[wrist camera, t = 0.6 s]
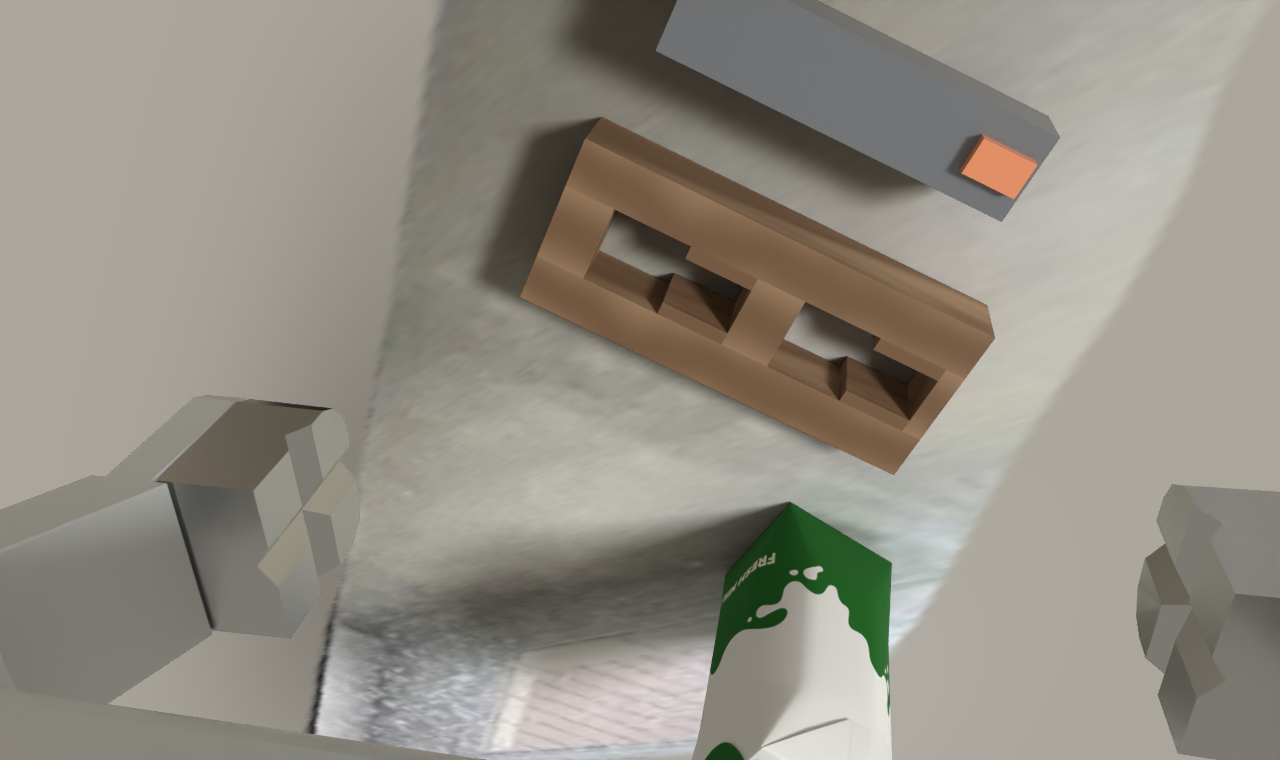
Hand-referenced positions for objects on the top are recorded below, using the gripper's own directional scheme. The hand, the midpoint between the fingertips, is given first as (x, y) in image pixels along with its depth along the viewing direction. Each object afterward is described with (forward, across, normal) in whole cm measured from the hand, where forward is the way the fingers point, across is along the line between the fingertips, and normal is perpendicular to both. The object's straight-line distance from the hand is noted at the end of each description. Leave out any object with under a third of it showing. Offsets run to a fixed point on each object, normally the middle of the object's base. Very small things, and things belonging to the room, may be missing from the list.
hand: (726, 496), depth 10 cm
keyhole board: (+39, +2, +16) cm, 42 cm away
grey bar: (+39, -2, +4) cm, 39 cm away
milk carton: (+40, -1, +34) cm, 52 cm away
